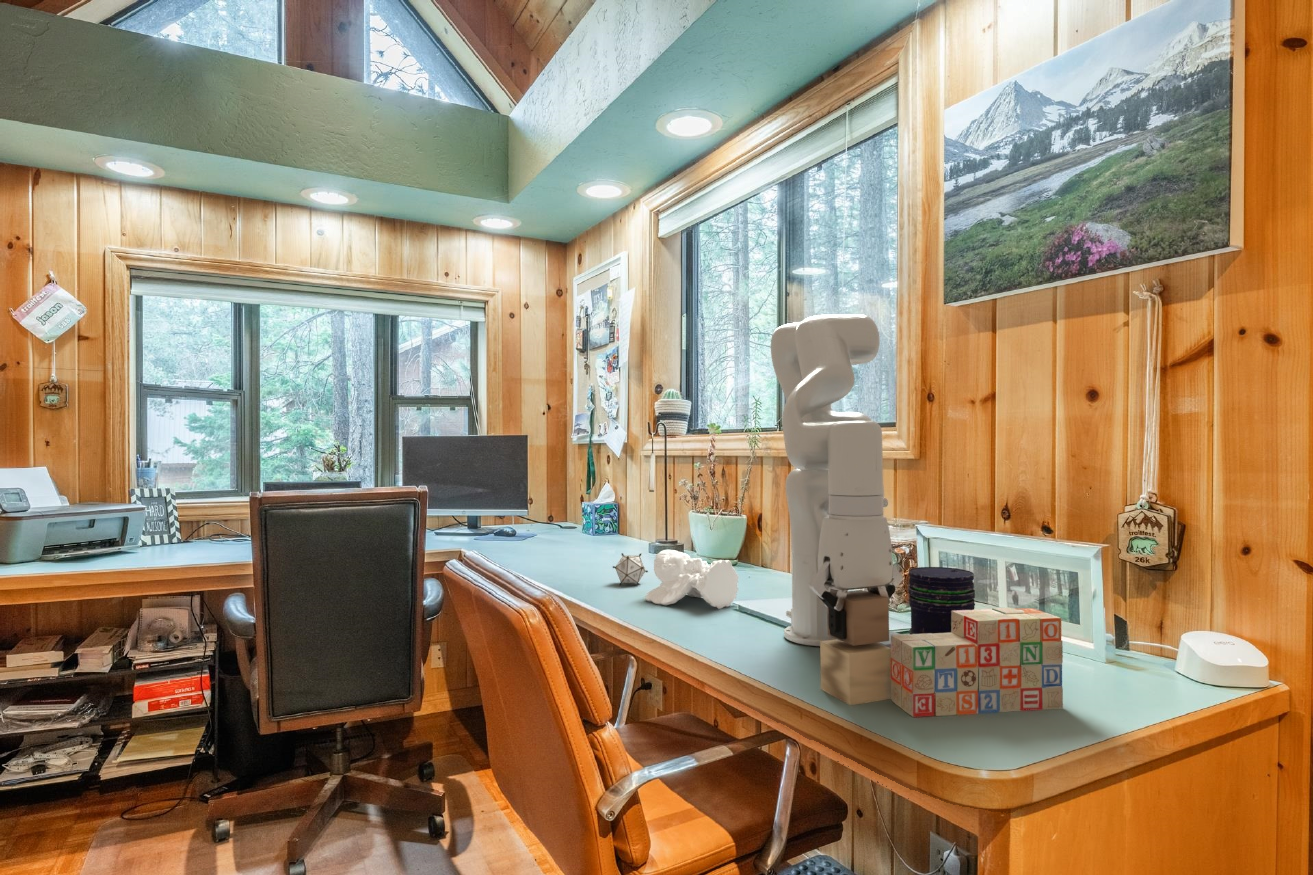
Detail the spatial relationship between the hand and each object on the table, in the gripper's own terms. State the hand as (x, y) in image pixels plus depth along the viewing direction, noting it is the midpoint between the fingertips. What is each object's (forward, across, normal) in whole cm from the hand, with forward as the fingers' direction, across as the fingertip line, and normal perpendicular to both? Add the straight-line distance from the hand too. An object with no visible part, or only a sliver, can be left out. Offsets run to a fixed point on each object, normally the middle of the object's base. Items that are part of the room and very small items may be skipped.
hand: (857, 633), depth 101 cm
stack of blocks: (+9, -12, +10) cm, 18 cm away
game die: (+9, +2, -90) cm, 90 cm away
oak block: (+9, 0, 0) cm, 9 cm away
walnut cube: (+1, 0, 0) cm, 1 cm away
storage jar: (+9, -20, -5) cm, 22 cm away
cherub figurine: (+9, -3, -64) cm, 65 cm away
